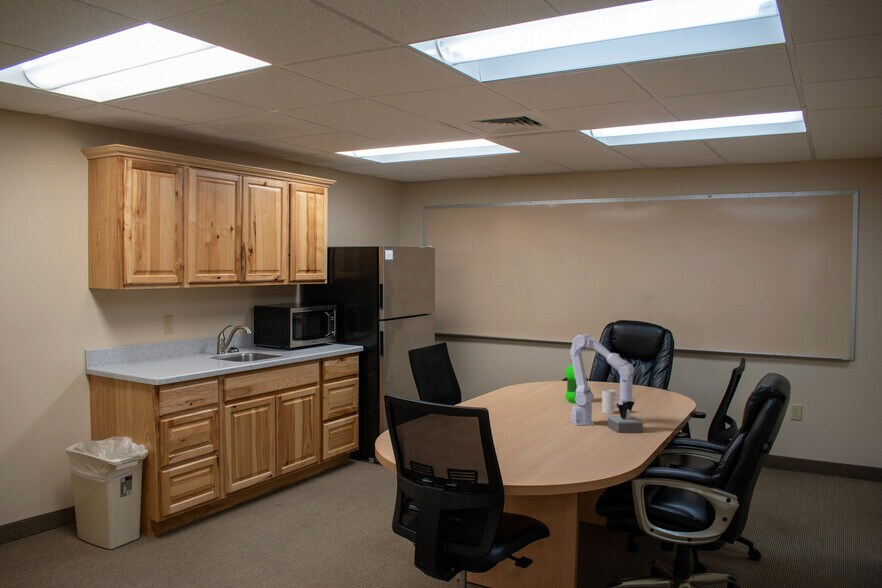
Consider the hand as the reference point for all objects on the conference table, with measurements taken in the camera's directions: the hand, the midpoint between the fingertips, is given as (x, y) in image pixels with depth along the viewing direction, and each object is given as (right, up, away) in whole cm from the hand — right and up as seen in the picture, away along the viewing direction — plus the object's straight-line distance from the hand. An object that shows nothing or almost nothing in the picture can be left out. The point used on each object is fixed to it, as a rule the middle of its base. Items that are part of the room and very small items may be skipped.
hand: (625, 417), depth 310 cm
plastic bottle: (-11, -4, +64) cm, 65 cm away
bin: (0, -6, 0) cm, 6 cm away
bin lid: (0, -1, 0) cm, 1 cm away
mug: (+3, -5, +37) cm, 38 cm away
